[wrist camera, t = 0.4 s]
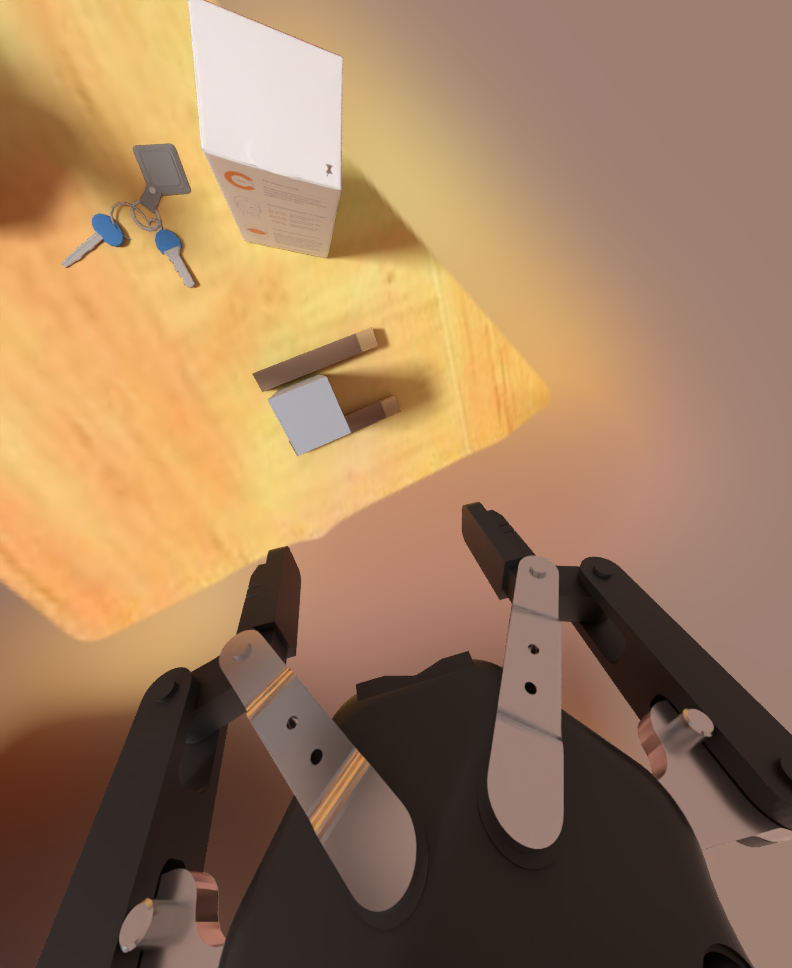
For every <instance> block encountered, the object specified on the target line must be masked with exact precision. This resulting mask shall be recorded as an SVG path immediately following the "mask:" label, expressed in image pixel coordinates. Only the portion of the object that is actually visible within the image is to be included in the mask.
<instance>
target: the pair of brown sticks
mask: <svg viewBox="0 0 792 968" xmlns="http://www.w3.org/2000/svg"><path fill="white" fill-rule="evenodd" d="M377 346H378V343H377V340H376V337H375V335H374V332H373V329H372V327H371V328H369V329H366V330H364V331H361V332H358V333H356V334H353V335H351V336H348V337H346V338H343V339H340V340H338V341H335V342H333V343H330V344H327V345H325V346H322V347H320V348H317V349H315V350H312V351H309V352H307V353H304V354H302V355H299V356H297V357H294V358H291V359H289V360H286V361H284V362H281V363H279V364H276V365H273V366H271V367H268V368H266V369H263V370H261V371H258V372H255V373H253V376H254V378H255V379H256V381H257V383H258V385H259V387H260V389H261V390H262V392H264V391H266V390H269V389H271V388H274V387H276V386H279V385H281V384H284V383H286V382H289V381H291V380H294V379H296V378H299V377H301V376H304V375H306V374H309V373H311V372H314V371H316V370H319V369H321V368H324V367H326V366H329V365H331V364H334V363H336V362H339V361H341V360H344V359H346V358H349V357H351V356H354V355H356V354H359V353H361V352H364V351H367V350H369V349H372V348H374V347H377ZM400 411H401V410H400V408H399V405H398V402H397V399H396V396H393V395H392V396H389V397H387V398H385V399H382V400H380V401H377V402H375V403H373V404H370V405H368V406H366V407H363V408H361V409H359V410H356V411H354V412H352V413H349V414H347V415H344V418H345V420H346V422H347V424H348V427H349V429H350V431H351V433H352V432H354V431H357V430H359V429H361V428H364V427H366V426H368V425H371V424H373V423H375V422H377V421H380V420H382V419H384V418H387V417H389V416H391V415H394V414H396V413H398V412H400ZM349 434H350V433H349ZM340 438H341V437H340ZM333 441H334V440H333ZM289 442H290V440H289ZM290 444H291V442H290ZM326 444H327V443H326ZM291 446H292V444H291ZM292 447H293V446H292ZM319 447H320V446H319ZM293 449H294V448H293ZM294 451H295V450H294ZM310 451H311V450H310ZM295 453H296V451H295ZM303 454H304V453H303ZM296 455H297V453H296ZM297 456H298V455H297Z"/></svg>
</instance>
